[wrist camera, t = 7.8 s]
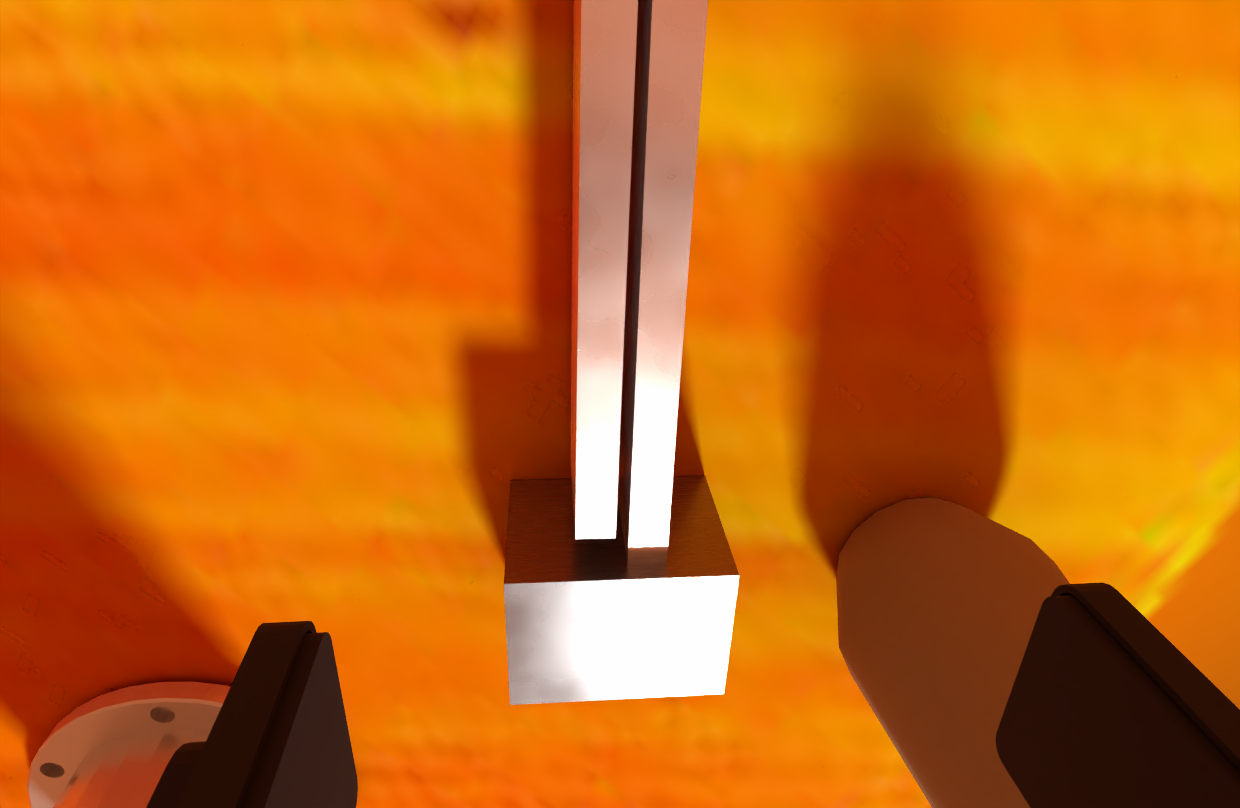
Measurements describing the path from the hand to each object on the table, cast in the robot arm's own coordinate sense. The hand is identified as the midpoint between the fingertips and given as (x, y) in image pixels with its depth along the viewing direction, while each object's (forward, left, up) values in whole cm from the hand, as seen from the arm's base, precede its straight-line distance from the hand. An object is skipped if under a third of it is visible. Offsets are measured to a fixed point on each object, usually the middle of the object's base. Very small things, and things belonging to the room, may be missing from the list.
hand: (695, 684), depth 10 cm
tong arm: (+3, +1, -16) cm, 16 cm away
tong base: (0, 0, -16) cm, 16 cm away
